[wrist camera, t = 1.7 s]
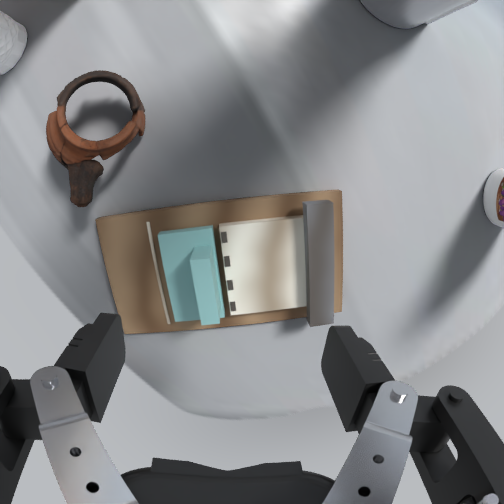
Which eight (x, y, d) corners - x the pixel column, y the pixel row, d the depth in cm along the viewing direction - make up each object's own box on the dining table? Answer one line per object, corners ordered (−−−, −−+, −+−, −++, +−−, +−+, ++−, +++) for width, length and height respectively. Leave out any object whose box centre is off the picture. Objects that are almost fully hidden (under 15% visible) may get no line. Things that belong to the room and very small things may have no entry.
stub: (212, 225, 29) (209, 239, 24) (224, 311, 32) (224, 337, 27) (160, 231, 29) (147, 246, 24) (176, 315, 32) (169, 342, 27)
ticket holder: (338, 189, 30) (352, 195, 26) (338, 307, 34) (349, 324, 31) (99, 217, 29) (83, 226, 26) (127, 329, 33) (117, 348, 30)
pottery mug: (55, 101, 25) (51, 63, 18) (137, 100, 30) (156, 64, 23) (48, 213, 26) (36, 204, 19) (136, 208, 31) (154, 197, 24)
